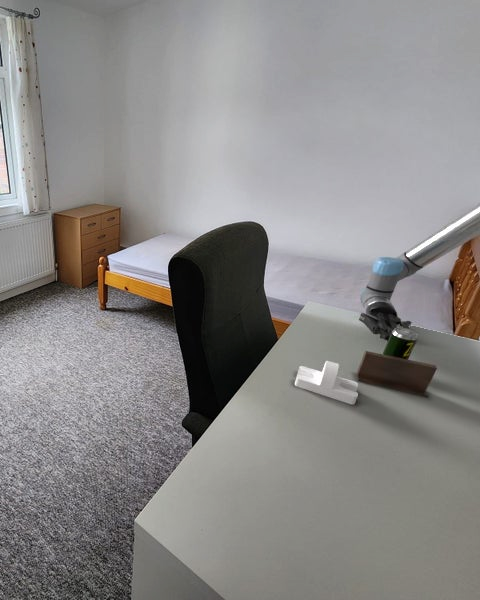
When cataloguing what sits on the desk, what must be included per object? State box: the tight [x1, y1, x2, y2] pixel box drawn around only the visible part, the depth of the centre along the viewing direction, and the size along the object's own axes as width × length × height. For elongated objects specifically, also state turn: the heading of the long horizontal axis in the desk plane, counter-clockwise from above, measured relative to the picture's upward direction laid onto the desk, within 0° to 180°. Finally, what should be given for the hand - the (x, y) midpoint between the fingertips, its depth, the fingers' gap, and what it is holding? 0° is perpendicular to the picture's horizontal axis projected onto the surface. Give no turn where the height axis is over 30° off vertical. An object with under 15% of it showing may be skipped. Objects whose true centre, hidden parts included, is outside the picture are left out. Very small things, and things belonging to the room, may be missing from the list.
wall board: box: [355, 350, 438, 398], centre depth 88 cm, size 14×3×8 cm, turn 60°
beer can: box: [382, 326, 419, 360], centre depth 94 cm, size 5×5×12 cm
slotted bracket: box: [294, 360, 359, 405], centre depth 88 cm, size 13×7×8 cm, turn 53°
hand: (395, 344), depth 96 cm, fingers closed
